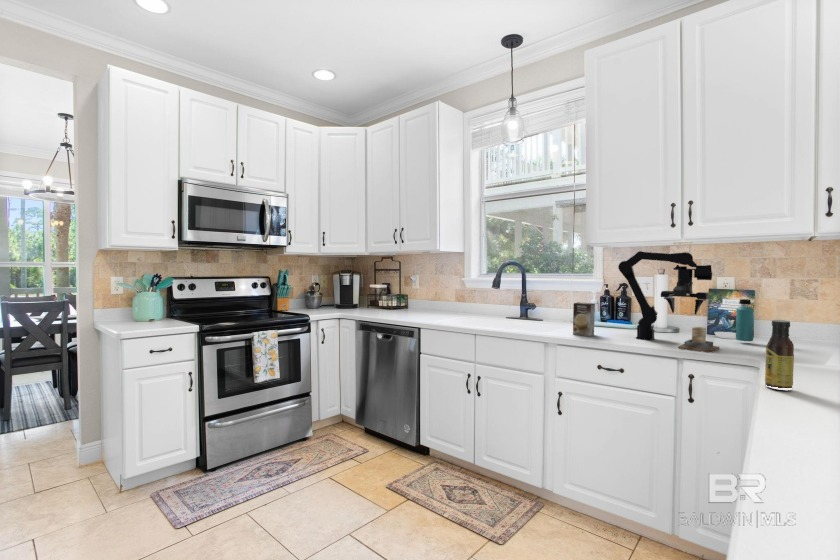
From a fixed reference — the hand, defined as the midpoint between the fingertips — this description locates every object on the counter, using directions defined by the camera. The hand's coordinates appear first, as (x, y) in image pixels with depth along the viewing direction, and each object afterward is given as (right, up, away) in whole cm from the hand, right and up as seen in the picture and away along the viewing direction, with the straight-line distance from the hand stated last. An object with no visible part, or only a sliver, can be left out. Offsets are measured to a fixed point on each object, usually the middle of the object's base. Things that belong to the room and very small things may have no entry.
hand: (684, 313), depth 201 cm
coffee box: (-39, -13, +21) cm, 46 cm away
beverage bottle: (+25, -13, -4) cm, 28 cm away
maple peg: (-4, -13, -16) cm, 21 cm away
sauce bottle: (-19, -16, -76) cm, 79 cm away
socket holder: (-4, -14, -16) cm, 21 cm away
